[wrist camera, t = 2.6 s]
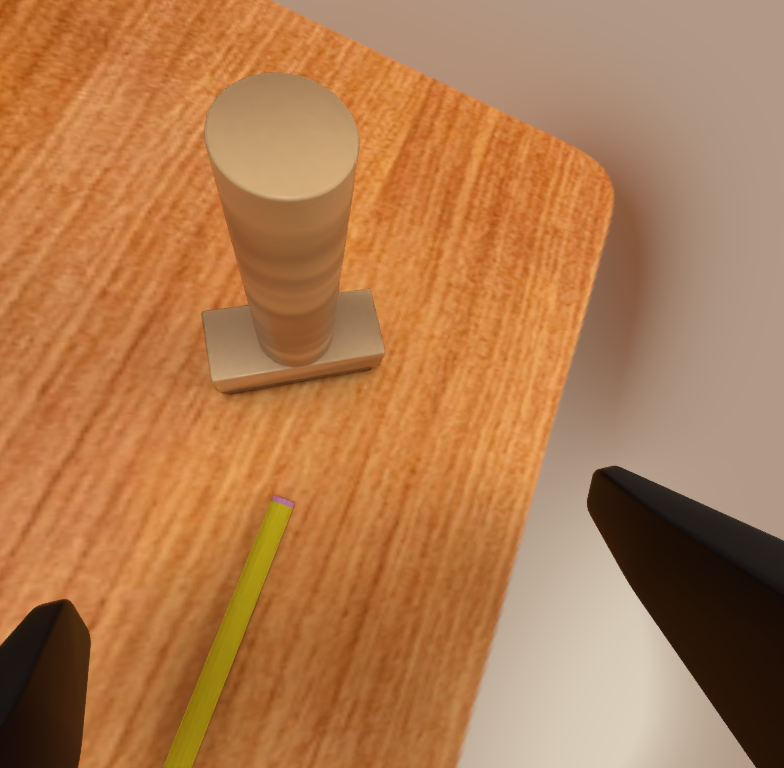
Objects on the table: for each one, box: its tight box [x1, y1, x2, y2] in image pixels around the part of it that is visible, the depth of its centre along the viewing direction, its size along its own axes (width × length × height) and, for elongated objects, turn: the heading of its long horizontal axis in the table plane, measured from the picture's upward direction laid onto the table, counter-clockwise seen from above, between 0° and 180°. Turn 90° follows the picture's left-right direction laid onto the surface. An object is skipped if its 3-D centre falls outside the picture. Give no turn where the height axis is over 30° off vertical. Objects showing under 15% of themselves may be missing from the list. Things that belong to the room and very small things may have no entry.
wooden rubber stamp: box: [201, 73, 385, 394], centre depth 16 cm, size 3×7×14 cm, turn 103°
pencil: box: [162, 495, 295, 768], centre depth 18 cm, size 16×1×1 cm, turn 161°
